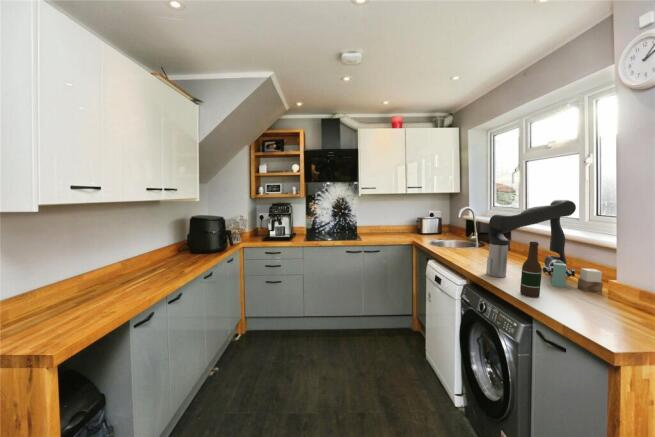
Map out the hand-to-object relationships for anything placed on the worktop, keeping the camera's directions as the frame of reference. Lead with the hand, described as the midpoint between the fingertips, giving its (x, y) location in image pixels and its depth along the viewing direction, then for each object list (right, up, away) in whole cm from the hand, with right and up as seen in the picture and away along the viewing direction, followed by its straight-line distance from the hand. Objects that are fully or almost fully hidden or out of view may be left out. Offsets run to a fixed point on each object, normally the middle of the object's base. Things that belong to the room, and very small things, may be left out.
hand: (559, 273), depth 168 cm
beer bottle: (-24, -7, -15) cm, 29 cm away
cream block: (+12, -2, -4) cm, 13 cm away
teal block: (+1, -6, +2) cm, 7 cm away
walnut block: (+12, -7, -4) cm, 14 cm away
